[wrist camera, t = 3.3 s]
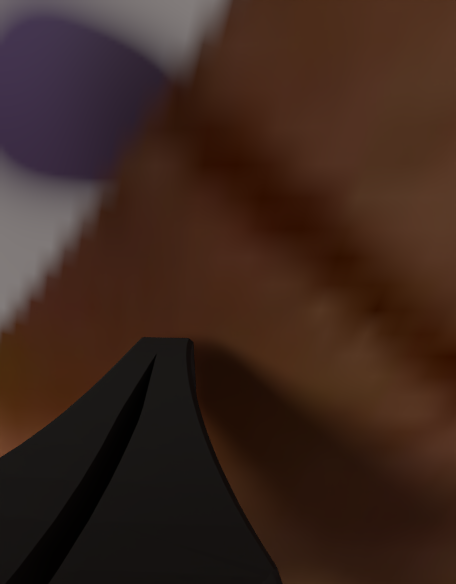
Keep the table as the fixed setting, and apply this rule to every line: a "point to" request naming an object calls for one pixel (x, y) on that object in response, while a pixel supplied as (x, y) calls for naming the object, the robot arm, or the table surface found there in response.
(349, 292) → the table surface
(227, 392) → the table surface
